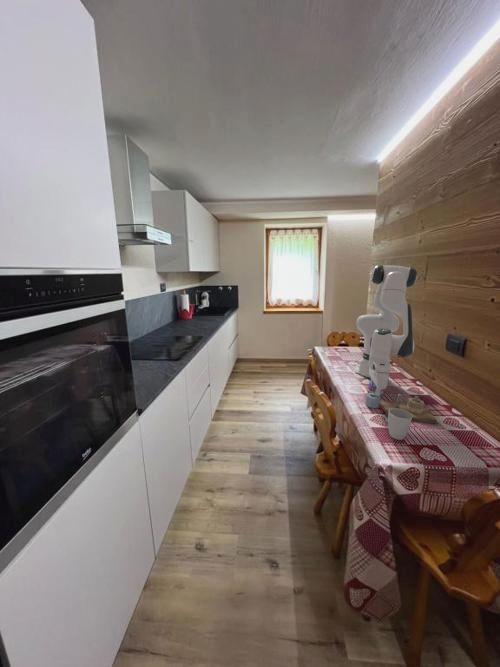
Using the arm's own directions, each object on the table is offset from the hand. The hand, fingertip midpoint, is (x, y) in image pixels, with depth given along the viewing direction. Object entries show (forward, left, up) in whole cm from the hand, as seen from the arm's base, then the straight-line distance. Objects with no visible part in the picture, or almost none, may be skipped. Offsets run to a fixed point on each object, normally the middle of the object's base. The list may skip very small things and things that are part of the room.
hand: (375, 390), depth 128 cm
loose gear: (-1, 0, -8) cm, 8 cm away
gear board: (+2, +14, -8) cm, 16 cm away
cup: (+24, +4, -8) cm, 26 cm away
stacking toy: (-17, +4, -8) cm, 19 cm away
